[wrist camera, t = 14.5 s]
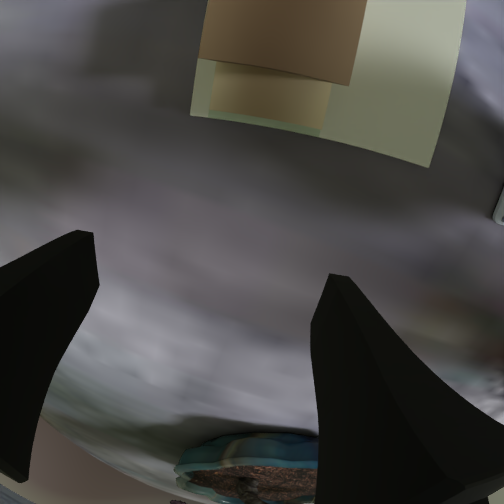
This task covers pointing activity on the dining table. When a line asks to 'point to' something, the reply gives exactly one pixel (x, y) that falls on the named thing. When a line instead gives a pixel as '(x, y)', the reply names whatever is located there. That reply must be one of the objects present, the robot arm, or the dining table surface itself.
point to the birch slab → (269, 94)
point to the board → (381, 81)
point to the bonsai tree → (252, 469)
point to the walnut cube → (286, 36)
